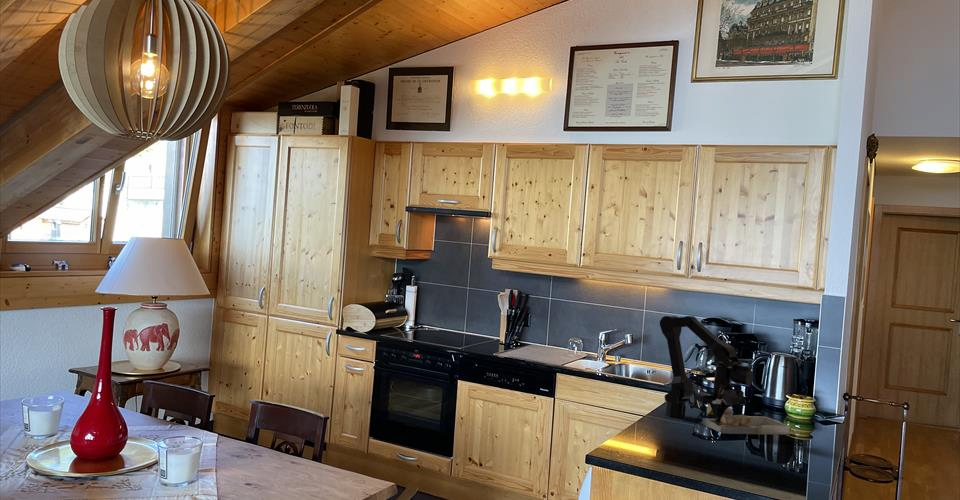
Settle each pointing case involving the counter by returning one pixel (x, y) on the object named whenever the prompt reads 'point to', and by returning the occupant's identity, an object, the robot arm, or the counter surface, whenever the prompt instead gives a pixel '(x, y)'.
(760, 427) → the rail board
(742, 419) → the chip
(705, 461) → the counter surface
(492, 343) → the counter surface
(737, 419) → the chip
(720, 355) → the robot arm
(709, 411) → the cream ceramic pitcher
